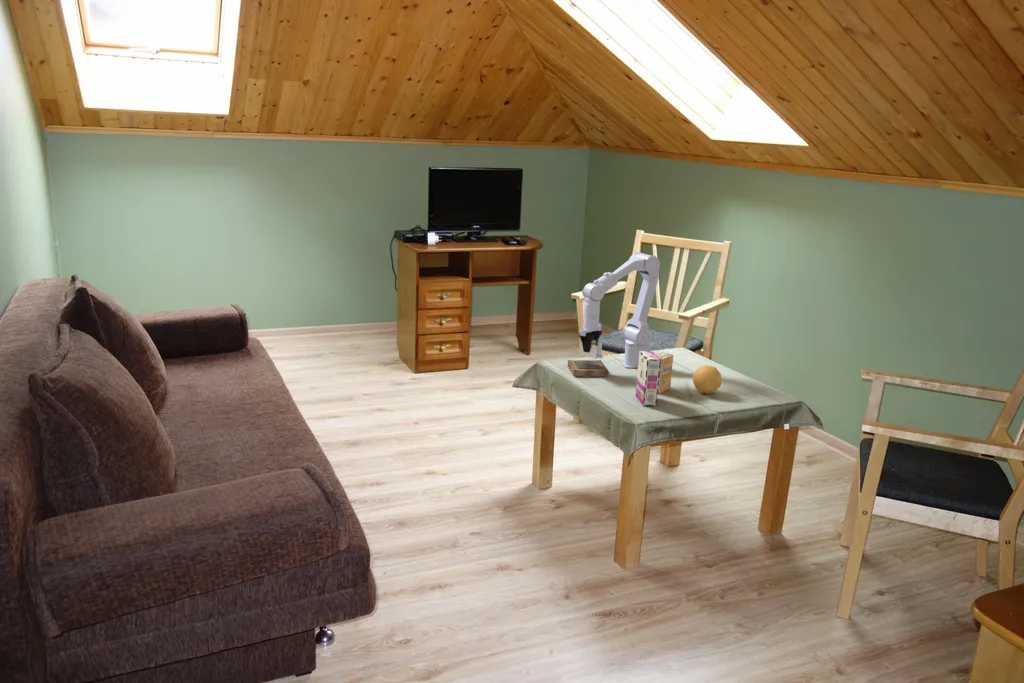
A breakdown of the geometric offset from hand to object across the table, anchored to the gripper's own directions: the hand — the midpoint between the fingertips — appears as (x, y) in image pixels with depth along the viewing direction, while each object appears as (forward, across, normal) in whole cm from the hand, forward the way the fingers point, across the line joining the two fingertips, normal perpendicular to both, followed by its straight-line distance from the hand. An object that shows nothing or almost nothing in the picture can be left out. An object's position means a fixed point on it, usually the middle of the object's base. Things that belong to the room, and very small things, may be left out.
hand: (589, 350), depth 300 cm
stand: (+8, 0, 0) cm, 8 cm away
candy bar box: (+9, -18, -31) cm, 37 cm away
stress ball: (+9, +3, -45) cm, 46 cm away
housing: (+2, 0, 0) cm, 2 cm away
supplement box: (+9, -4, -30) cm, 32 cm away
